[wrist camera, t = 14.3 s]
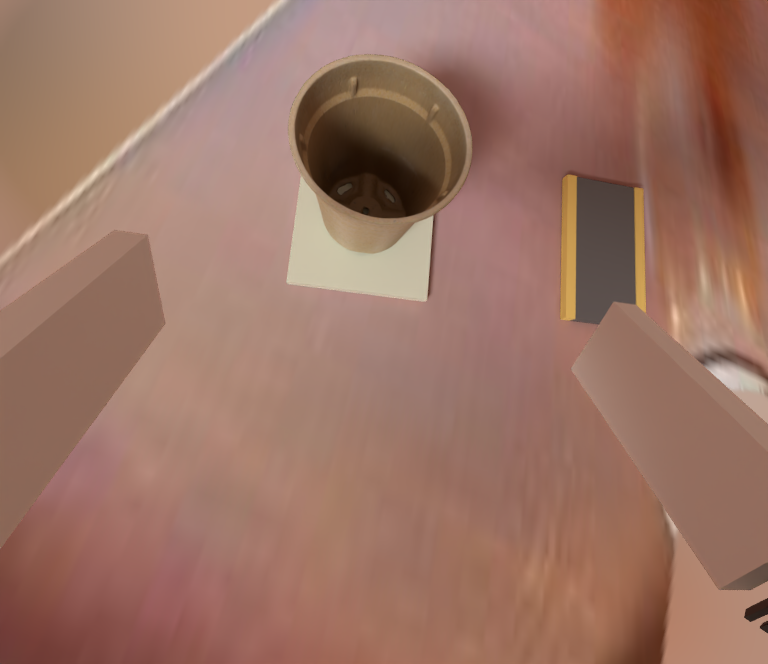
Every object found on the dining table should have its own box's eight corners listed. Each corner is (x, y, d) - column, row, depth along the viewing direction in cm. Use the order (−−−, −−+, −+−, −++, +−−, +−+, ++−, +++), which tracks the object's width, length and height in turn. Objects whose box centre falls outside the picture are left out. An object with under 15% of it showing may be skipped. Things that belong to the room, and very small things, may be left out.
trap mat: (636, 193, 32) (643, 188, 31) (638, 329, 30) (646, 328, 30) (562, 178, 31) (567, 174, 30) (560, 319, 29) (566, 317, 29)
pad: (435, 154, 29) (438, 150, 29) (424, 301, 28) (427, 299, 27) (308, 130, 28) (307, 124, 27) (287, 283, 26) (286, 281, 26)
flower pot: (337, 131, 28) (343, 20, 19) (447, 193, 28) (499, 111, 20) (274, 235, 26) (251, 162, 17) (394, 298, 27) (427, 257, 18)
